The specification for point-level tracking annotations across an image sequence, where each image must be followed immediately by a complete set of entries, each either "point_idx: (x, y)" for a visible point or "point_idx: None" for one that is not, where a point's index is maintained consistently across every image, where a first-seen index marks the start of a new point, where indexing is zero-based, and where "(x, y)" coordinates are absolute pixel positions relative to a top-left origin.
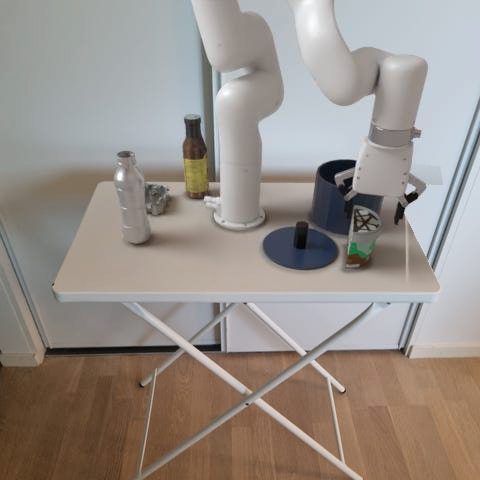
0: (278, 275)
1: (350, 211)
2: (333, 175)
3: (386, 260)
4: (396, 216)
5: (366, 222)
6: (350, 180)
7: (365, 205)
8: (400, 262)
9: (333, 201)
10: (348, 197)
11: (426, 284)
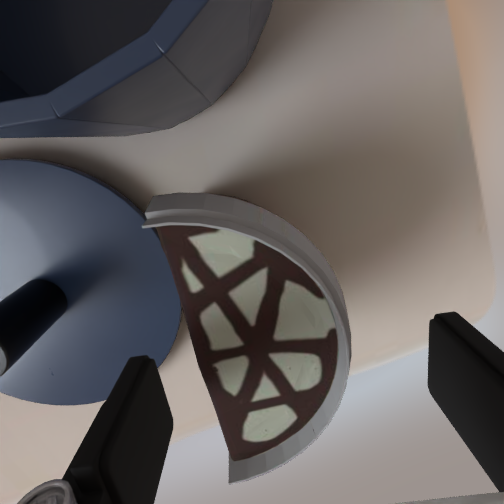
0: (70, 419)
1: (161, 467)
2: None
3: (350, 220)
4: (461, 436)
5: (265, 341)
6: None
7: (203, 69)
8: (399, 211)
9: None
10: None
11: (476, 294)
